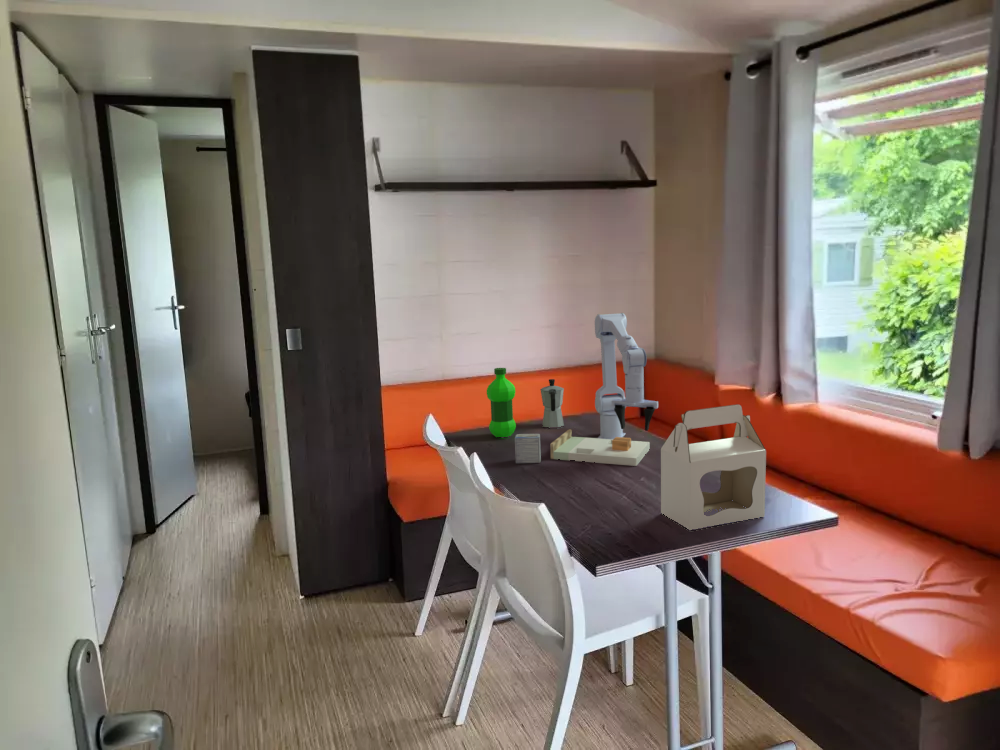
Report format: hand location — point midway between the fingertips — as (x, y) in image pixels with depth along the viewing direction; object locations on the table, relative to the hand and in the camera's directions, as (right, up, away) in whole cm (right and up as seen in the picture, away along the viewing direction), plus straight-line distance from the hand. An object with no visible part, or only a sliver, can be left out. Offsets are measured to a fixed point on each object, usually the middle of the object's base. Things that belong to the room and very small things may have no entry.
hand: (634, 429), depth 239 cm
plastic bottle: (-42, -5, +34) cm, 54 cm away
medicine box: (-34, -11, +3) cm, 36 cm away
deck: (-10, -9, +8) cm, 15 cm away
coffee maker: (-23, -3, +45) cm, 51 cm away
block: (-3, -7, +4) cm, 9 cm away
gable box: (+11, -19, -49) cm, 53 cm away
